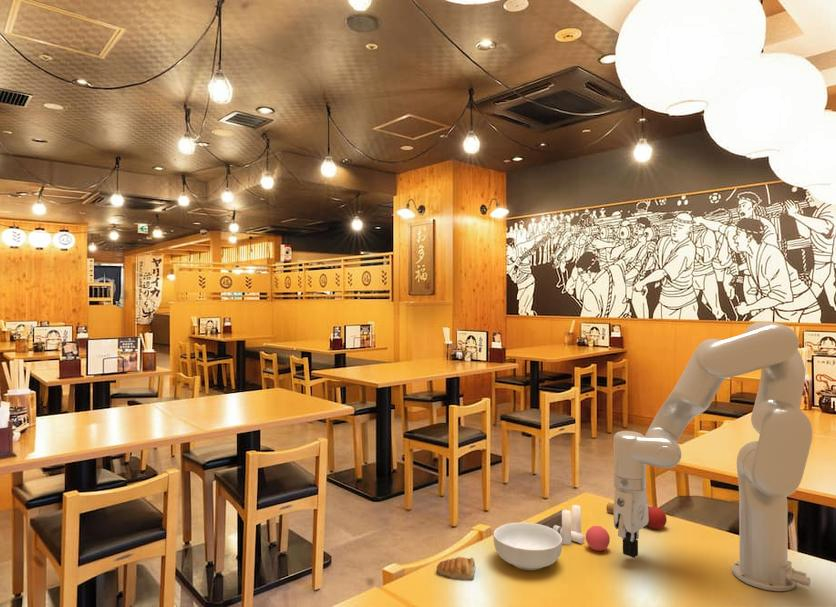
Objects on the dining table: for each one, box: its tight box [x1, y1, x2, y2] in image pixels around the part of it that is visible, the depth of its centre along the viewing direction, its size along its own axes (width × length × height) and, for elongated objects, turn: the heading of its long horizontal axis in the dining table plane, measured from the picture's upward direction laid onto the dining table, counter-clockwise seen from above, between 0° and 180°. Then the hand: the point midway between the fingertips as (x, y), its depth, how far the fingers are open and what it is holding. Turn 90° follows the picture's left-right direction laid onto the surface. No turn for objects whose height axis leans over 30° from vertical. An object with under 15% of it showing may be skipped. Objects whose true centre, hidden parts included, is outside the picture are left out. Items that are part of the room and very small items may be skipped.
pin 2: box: [571, 504, 582, 534], centre depth 150 cm, size 2×2×8 cm
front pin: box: [553, 525, 586, 545], centre depth 149 cm, size 2×2×8 cm
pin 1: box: [562, 509, 572, 546], centre depth 147 cm, size 2×2×8 cm
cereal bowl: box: [493, 521, 563, 571], centre depth 136 cm, size 17×17×7 cm
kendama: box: [606, 502, 668, 530], centre depth 160 cm, size 8×6×18 cm
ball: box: [585, 525, 611, 552], centre depth 143 cm, size 6×6×6 cm
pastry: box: [436, 556, 477, 581], centre depth 131 cm, size 9×7×4 cm
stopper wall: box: [535, 509, 563, 529], centre depth 153 cm, size 2×16×4 cm, turn 133°
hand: (630, 554), depth 136 cm, fingers closed
